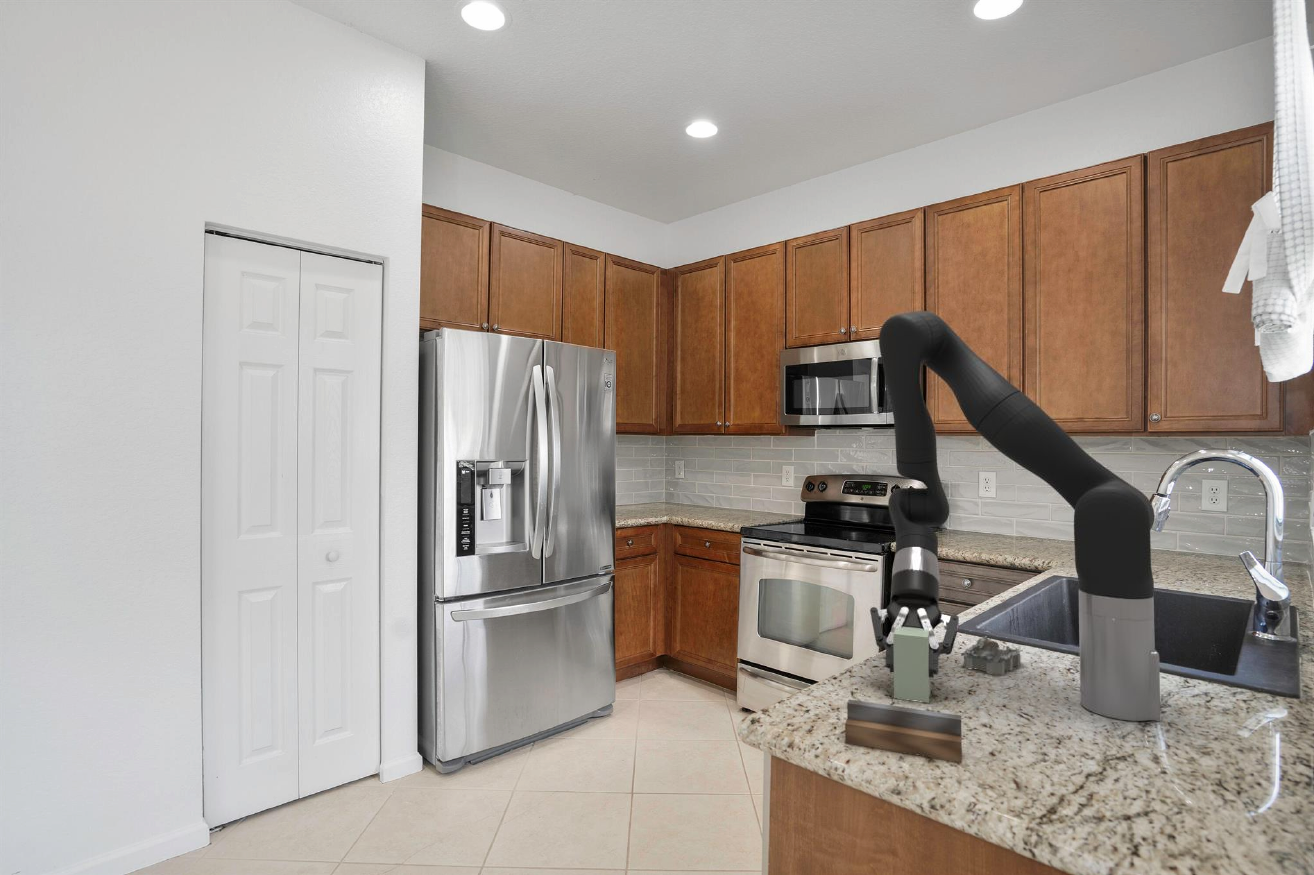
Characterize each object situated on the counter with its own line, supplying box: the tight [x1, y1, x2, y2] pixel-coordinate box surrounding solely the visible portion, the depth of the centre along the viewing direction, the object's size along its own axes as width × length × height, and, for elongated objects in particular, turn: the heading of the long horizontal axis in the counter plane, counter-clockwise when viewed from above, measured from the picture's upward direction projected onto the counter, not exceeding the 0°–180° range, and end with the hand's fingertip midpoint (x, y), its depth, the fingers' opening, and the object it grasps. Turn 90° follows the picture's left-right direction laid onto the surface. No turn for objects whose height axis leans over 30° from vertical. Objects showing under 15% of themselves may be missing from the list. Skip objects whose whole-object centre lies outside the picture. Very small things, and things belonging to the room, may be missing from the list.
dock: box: [844, 698, 963, 763], centre depth 90 cm, size 14×10×4 cm
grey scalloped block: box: [960, 635, 1023, 676], centre depth 119 cm, size 11×8×4 cm
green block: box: [893, 627, 931, 703], centre depth 105 cm, size 5×5×10 cm
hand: (911, 672), depth 103 cm, fingers closed on green block, 5 cm apart
